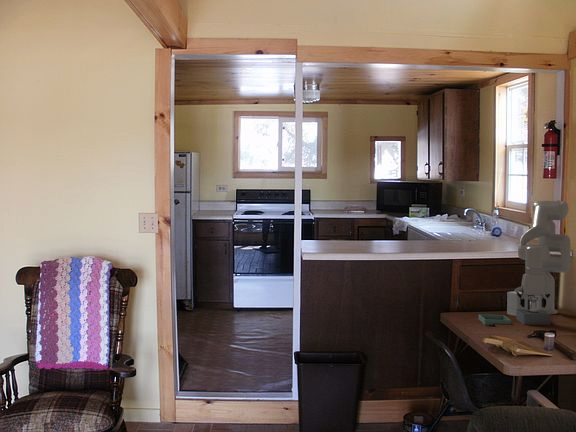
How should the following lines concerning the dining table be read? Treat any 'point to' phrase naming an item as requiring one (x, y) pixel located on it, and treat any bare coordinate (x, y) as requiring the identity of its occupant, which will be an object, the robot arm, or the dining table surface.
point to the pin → (533, 304)
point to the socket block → (533, 317)
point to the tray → (488, 320)
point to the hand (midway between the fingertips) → (533, 307)
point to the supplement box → (515, 303)
